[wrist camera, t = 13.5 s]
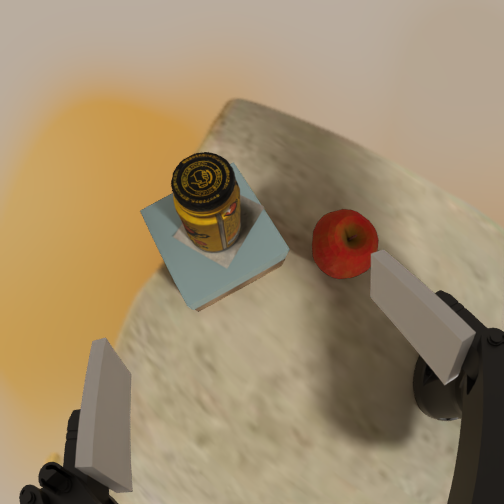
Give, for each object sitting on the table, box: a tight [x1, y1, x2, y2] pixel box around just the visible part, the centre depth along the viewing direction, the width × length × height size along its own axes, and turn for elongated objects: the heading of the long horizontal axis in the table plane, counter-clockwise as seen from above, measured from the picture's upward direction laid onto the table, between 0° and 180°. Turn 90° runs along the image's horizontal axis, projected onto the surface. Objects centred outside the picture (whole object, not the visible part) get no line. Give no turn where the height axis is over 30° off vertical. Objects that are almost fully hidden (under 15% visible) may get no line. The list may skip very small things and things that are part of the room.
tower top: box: [140, 163, 290, 310], centre depth 38 cm, size 13×13×4 cm
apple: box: [312, 209, 378, 279], centre depth 39 cm, size 9×8×11 cm
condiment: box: [171, 152, 264, 268], centre depth 30 cm, size 7×8×12 cm
